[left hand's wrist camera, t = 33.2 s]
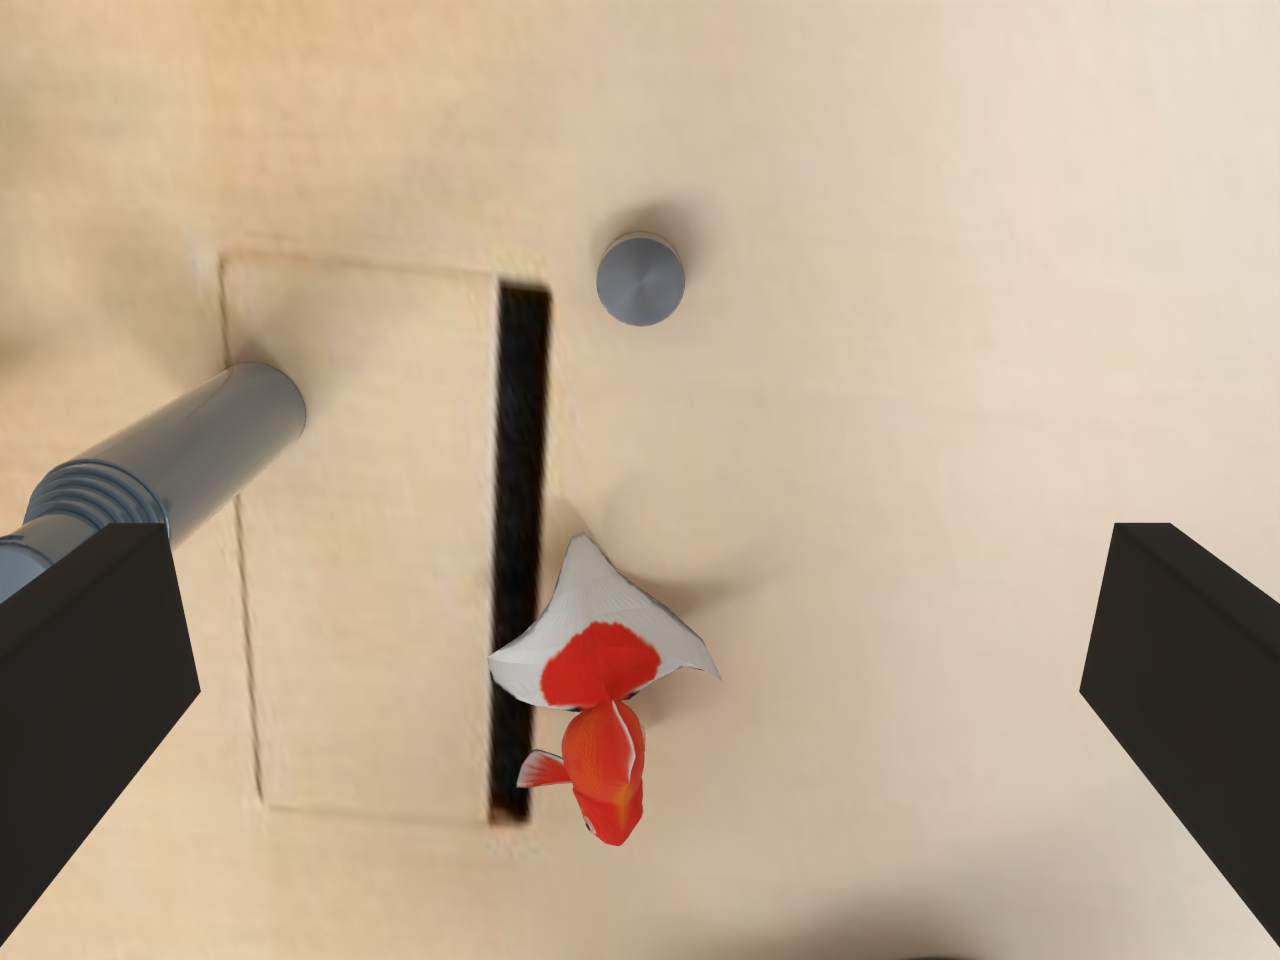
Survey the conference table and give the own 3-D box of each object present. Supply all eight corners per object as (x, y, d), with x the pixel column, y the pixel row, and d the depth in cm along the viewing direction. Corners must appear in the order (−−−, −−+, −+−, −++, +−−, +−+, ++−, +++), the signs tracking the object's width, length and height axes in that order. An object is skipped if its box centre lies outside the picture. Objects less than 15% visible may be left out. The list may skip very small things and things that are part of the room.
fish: (439, 813, 47) (487, 892, 38) (484, 519, 48) (541, 525, 39) (625, 814, 51) (708, 885, 42) (662, 544, 52) (751, 555, 43)
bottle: (298, 361, 43) (73, 514, 26) (312, 453, 45) (108, 654, 28) (201, 362, 43) (-89, 515, 26) (218, 454, 45) (-44, 654, 28)
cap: (630, 214, 41) (629, 218, 38) (699, 264, 41) (702, 272, 39) (582, 284, 42) (579, 293, 40) (650, 332, 43) (650, 343, 40)
